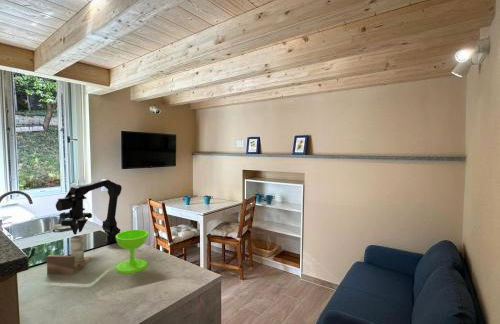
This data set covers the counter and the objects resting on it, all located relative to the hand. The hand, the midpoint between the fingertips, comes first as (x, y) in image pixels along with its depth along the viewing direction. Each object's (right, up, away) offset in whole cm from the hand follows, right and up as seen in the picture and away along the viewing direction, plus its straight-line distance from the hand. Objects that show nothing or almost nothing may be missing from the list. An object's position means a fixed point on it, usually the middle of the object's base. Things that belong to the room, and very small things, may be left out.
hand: (77, 233), depth 153 cm
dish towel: (-41, -10, +49) cm, 65 cm away
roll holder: (+8, -14, -16) cm, 23 cm away
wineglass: (+38, -15, -12) cm, 43 cm away
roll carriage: (+8, -13, -12) cm, 20 cm away
